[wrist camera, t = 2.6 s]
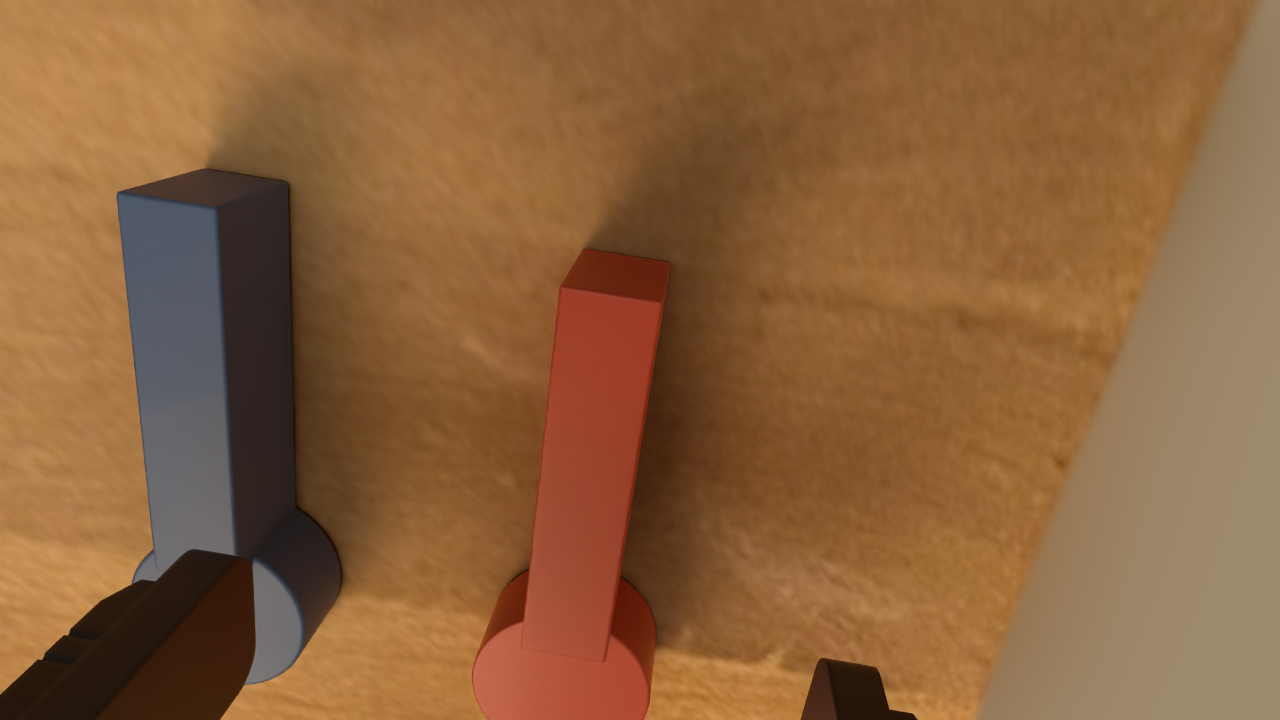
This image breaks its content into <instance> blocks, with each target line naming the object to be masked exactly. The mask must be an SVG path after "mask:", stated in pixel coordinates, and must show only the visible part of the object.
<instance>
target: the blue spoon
mask: <svg viewBox="0 0 1280 720" xmlns="http://www.w3.org/2000/svg"><path fill="white" fill-rule="evenodd" d="M117 203H118V213H119V222H120V232H121V241H122V251H123V261H124V270H125V280H126V289H127V299H128V308H129V318H130V327H131V337H132V346H133V356H134V366H135V375H136V385H137V394H138V404H139V413H140V423H141V432H142V442H143V451H144V461H145V471H146V480H147V490H148V499H149V509H150V518H151V528H152V537H153V547H154V549H153V550H152V551H151V552H150V553H149V554H148V555H147V556H145V558H144V559H143V560H142V561H141V563H140V564H139V566H138V568H137V570H136V571H135V574H134V577H133V581H132V584H133V583H135V582H137V581H139V580H141V579H144V580H150V581H156V580H157V579H158V578H159V577H160V576H161V575H162V574H163V573H164V572H165V571H166V570H167V569H168V568H169V567H170V566H171V565H172V564H173V563H174V562H175V561H176V560H177V559H178V558H180V557H181V556H182V555H183V554H184V553H185V552H187V551H188V550H191V549H199V550H205V551H211V552H217V553H222V554H228V555H234V556H240V557H245V558H248V559H249V560H250V562H251V564H252V568H253V583H254V606H255V628H256V650H255V656H254V660H253V664H252V667H251V670H250V673H249V675H248V678H247V680H246V682H245V684H244V685H248V684H256V683H261V682H264V681H267V680H270V679H273V678H274V677H276V676H278V675H280V674H282V673H283V672H285V671H286V670H287V669H289V668H290V667H291V666H292V665H293V664H294V663H295V662H296V660H297V659H298V657H299V656H300V654H301V653H302V651H303V650H304V648H305V647H306V645H307V644H308V642H309V641H310V639H311V638H312V636H313V635H314V633H315V632H316V630H317V629H318V627H319V626H320V624H321V623H322V621H323V619H324V618H325V616H326V615H327V613H328V612H329V610H330V609H331V607H332V606H333V604H334V603H335V601H336V599H337V596H338V593H339V589H340V581H341V574H340V566H339V561H338V558H337V555H336V552H335V550H334V548H333V546H332V544H331V542H330V541H329V539H328V538H327V536H326V535H325V534H324V532H323V531H322V530H321V529H320V528H319V527H318V525H317V524H315V523H314V522H313V521H312V520H311V519H310V518H309V517H308V516H306V515H305V514H303V513H302V512H301V511H299V510H298V509H296V506H295V464H294V422H293V381H292V339H291V298H290V256H289V214H288V184H287V183H286V182H284V181H278V180H272V179H265V178H259V177H253V176H247V175H241V174H234V173H228V172H222V171H216V170H209V169H200V170H196V171H193V172H189V173H185V174H182V175H178V176H174V177H171V178H167V179H163V180H160V181H156V182H152V183H149V184H145V185H141V186H138V187H134V188H130V189H127V190H123V191H120V192H118V193H117Z"/></svg>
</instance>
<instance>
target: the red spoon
mask: <svg viewBox="0 0 1280 720" xmlns="http://www.w3.org/2000/svg"><path fill="white" fill-rule="evenodd" d="M669 272H670V263H668V262H664V261H657V260H651V259H645V258H639V257H633V256H626V255H620V254H614V253H608V252H602V251H595V250H589V249H583V250H582V251H581V253H580V255H579V256H578V258H577V260H576V261H575V263H574V265H573V266H572V268H571V270H570V271H569V273H568V275H567V276H566V278H565V279H564V281H563V283H562V284H561V286H560V289H559V298H558V307H557V317H556V326H555V335H554V344H553V353H552V363H551V372H550V381H549V390H548V399H547V409H546V418H545V427H544V436H543V445H542V455H541V464H540V473H539V482H538V491H537V501H536V510H535V519H534V528H533V537H532V547H531V556H530V565H529V570H528V571H526V572H524V573H523V574H521V575H520V576H518V577H517V578H515V579H514V580H513V581H512V582H511V583H510V584H509V585H508V586H507V587H506V588H505V589H504V591H503V592H502V594H501V595H500V597H499V599H498V601H497V604H496V606H495V609H494V611H493V614H492V617H491V619H490V622H489V625H488V627H487V630H486V632H485V635H484V638H483V640H482V643H481V645H480V648H479V651H478V653H477V656H476V659H475V662H474V665H473V671H472V683H473V689H474V694H475V697H476V700H477V702H478V704H479V706H480V708H481V710H482V712H483V713H484V714H485V716H486V717H487V719H488V720H644V718H645V715H646V713H647V710H648V707H649V702H650V693H651V683H652V672H653V662H654V652H655V642H656V628H655V623H654V619H653V616H652V614H651V611H650V609H649V607H648V606H647V604H646V602H645V600H644V599H643V598H642V597H641V595H640V594H639V593H638V592H637V591H636V590H635V589H634V588H633V587H632V586H631V585H630V584H629V583H627V582H626V581H625V580H624V579H622V578H620V575H621V569H622V563H623V557H624V551H625V545H626V538H627V532H628V526H629V520H630V514H631V507H632V501H633V495H634V489H635V483H636V476H637V470H638V464H639V458H640V452H641V446H642V439H643V433H644V427H645V421H646V415H647V408H648V402H649V396H650V390H651V384H652V377H653V371H654V365H655V359H656V353H657V346H658V340H659V334H660V328H661V322H662V316H663V309H664V303H665V297H666V291H667V285H668V278H669Z"/></svg>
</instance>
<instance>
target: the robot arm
mask: <svg viewBox="0 0 1280 720" xmlns="http://www.w3.org/2000/svg"><path fill="white" fill-rule="evenodd" d="M255 650H256V628H255V606H254V583H253V568H252V564H251V562H250V560H249V559H248V558H245V557H240V556H234V555H228V554H222V553H217V552H211V551H205V550H199V549H191V550H188V551H187V552H185V553H184V554H183V555H182V556H181V557H180V558H178V559H177V560H176V561H175V562H174V563H173V564H172V565H171V566H170V567H169V568H168V569H167V570H166V571H165V572H164V573H163V574H162V575H161V576H160V577H159V578H158V579H157V580H156V581H150V580H144V579H141V580H139V581H137V582H135V583H133V584H132V585H130V586H128V587H126V588H124V589H122V590H120V591H118V592H117V593H115V594H113V595H111V596H109V597H107V598H105V599H103V600H102V601H100V602H99V603H98V604H97V605H96V606H95V607H94V608H93V609H92V610H90V611H89V612H88V613H87V614H86V615H85V616H84V617H83V618H82V619H81V620H80V621H79V622H78V623H77V624H75V625H74V626H73V627H72V628H71V629H70V633H69V635H68V636H66V635H64V636H63V637H62V638H61V639H59V640H58V641H57V642H56V643H55V644H54V645H53V646H52V647H51V648H50V649H49V650H48V651H47V652H46V653H45V655H44V658H43V659H42V660H37V661H36V662H35V663H34V664H33V665H32V666H31V667H29V668H28V669H27V670H26V671H25V672H24V673H23V674H22V675H21V676H20V677H19V678H18V679H17V680H16V681H15V682H13V683H12V684H11V685H10V686H9V687H8V688H7V689H6V690H5V691H4V692H3V693H2V694H1V695H0V720H220V719H221V717H222V716H223V715H224V713H225V712H226V710H227V709H228V708H229V706H230V705H231V703H232V702H233V701H234V699H235V698H236V696H237V695H238V694H239V692H240V691H241V689H242V687H243V686H244V684H245V682H246V680H247V678H248V675H249V673H250V670H251V667H252V664H253V660H254V656H255ZM801 720H917V718H916V717H915V716H914V714H912V713H906V712H900V711H895V710H889V707H888V703H887V699H886V695H885V692H884V688H883V684H882V680H881V677H880V673H879V671H878V670H877V668H876V667H873V666H867V665H861V664H856V663H850V662H844V661H838V660H832V659H826V658H821V659H820V660H819V662H818V663H817V666H816V669H815V672H814V675H813V679H812V682H811V686H810V689H809V693H808V696H807V699H806V703H805V706H804V710H803V713H802V717H801Z"/></svg>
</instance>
